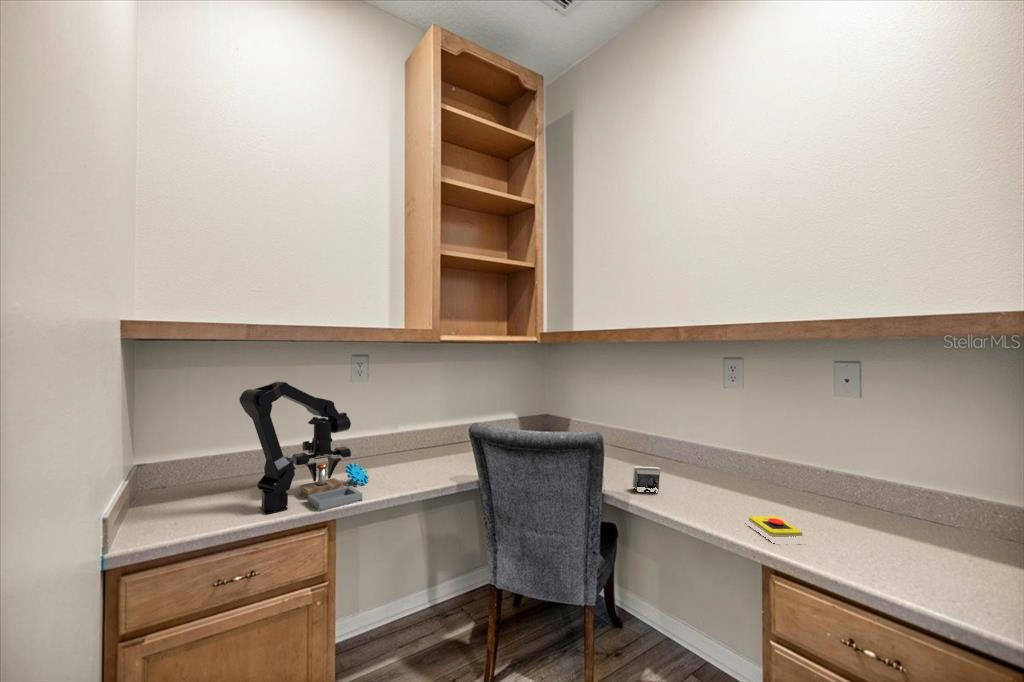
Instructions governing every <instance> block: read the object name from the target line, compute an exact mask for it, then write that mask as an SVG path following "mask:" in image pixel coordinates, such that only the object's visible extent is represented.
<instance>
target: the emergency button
mask: <svg viewBox="0 0 1024 682" xmlns="http://www.w3.org/2000/svg"><path fill="white" fill-rule="evenodd" d="M749 521H750V522H751V523H753V524H754V525H755V526H757V527H758V528H760V529H761V530H763V531H764V532H765V533H767V534H768V535H769V536H772V537H789V536H790V537H792V536H793V537H794V536H795V537H796V536H802V537H803V531H802V530H800V529H799V528H797V527H795V526H794V525H792V524H791V523H789V522H787V520H784V519H783V518H781V517H779V516H775V515H770V516H767V515H765V516H762V515H760V516H757V515H756V516H755V515H753V516H749V518H748V522H749Z"/></svg>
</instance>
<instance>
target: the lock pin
mask: <svg viewBox="0 0 1024 682" xmlns="http://www.w3.org/2000/svg"><path fill="white" fill-rule="evenodd" d="M327 468H328V462H327V463H326V462H320V463H316V469H317V470H318V471H317V474H318V475H317V482H318V487H319V486H324V485H326V480H327V479H326V478H327V477H326V476H327V473H326V472H327V471H326V470H327Z"/></svg>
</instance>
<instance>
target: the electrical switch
mask: <svg viewBox="0 0 1024 682" xmlns="http://www.w3.org/2000/svg"><path fill="white" fill-rule="evenodd" d="M660 475H661V468H660V467H657V466H638V465H637V466H636V465H635V466H634V467H633V474H632V488H633V487H635V488H636V490H637V487H645V488H650V489H651V488H652V489H653V488H655V487H656V488H657V489H658V491H659V490H660ZM636 490H635V491H636Z"/></svg>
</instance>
